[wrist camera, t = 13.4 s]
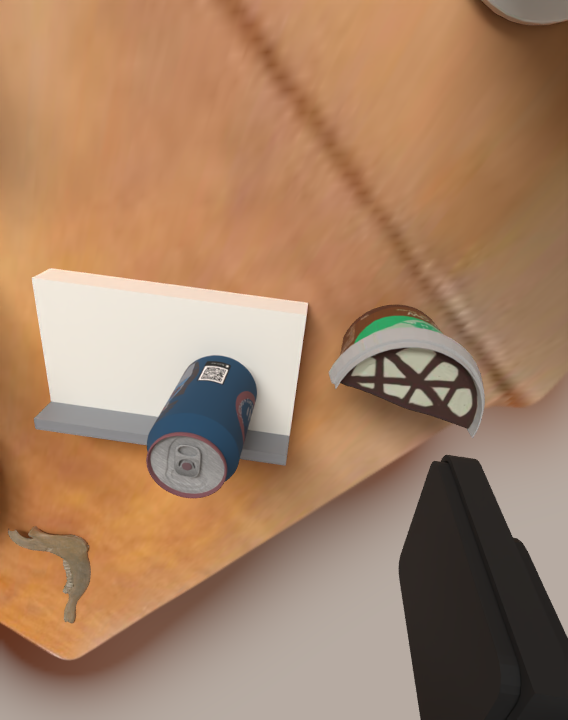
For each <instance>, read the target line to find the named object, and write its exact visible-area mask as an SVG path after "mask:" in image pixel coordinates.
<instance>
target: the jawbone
mask: <svg viewBox="0 0 568 720" xmlns="http://www.w3.org/2000/svg"><path fill="white" fill-rule="evenodd" d="M8 534H9V536H10V538H11V539H12V540H13V541H14V542H15V543H16V544H18V545H19V546H21V547H24V548H27V549H31V550H37V551H47V552H51V553H53V554H56V555H58V556H60V557H61V558H63V559H64V560H63V566H64V569H65V570H66V574H67V575H66V576H67V583H66V585H65V586H64V587H65V588H64V589H63V592H64V593H68V594H69V601H68V603H67V605H66V608H65V613H64V620H65V622H66V621H68V622H69V623H74V620H75V617H76V604H77V601H78V600H79V598H80V597H81V596H82V594H83V593H84V592H85V590H86V589H87V587H88V585H89V582H90V575H91V569H90V562H89V559H88V553H87V552H88V549H89V545H87V544H88V543H86V541H85V540H84V539H83V538H81V537H79V536H75V535H51V534H47V533H44V532H43V531H41V530H40V529H38V528H37V527H36V526H35V527H33V528H32V529H31V530H30V532H29V533H28V535H29V536H30V537H32V538H25V537H23V536H21V535H20V534H19V533H18V532H17V531H16V530H15V531H9V529H8Z"/></svg>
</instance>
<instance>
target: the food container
mask: <svg viewBox="0 0 568 720" xmlns="http://www.w3.org/2000/svg"><path fill="white" fill-rule="evenodd" d="M329 376H330V379H331V382H332V383H333V384H335V389H336V388H337V387H338V385H339V383H342V384H344V385H346V386H350V387H354V388H357V389H360V390H363V391H365V392H368V393H371V394H373V395H375V396H378V397H380V398H383V399H385V400H387V401H389V402H392V403H394V404H396V405H399V406H401V407H403V408H406V409H409V410H413V411H416V412H420V413H424V414H427V415H431V416H434V417H437V418H440V419H442V420H445V421H448V422H451V423H454V424H456V425H459V426H462V427H465V428H467V430H468V432H469V433H470V435H471V436H472V438H473V437H474V435H475V434H476V432H477V430H478V428H479V425H480V423H481V420H482V415H483V410H484V389H483V383H482V378H481V373H480V371H479V369H478V366H477V364H476V362H475V361H474V359H473V358H472V356H471V355H470V353H469V352H468V351H466V350H465V349H464V348H463V347H462V346H461V345H460V344H459V343H457V342H456V341H454V340H453V339H451V338H450V337H447V336H445V335H443V334H442V332H441V331H440V330H439V329H438V327H437V326H436V325H435V323H434V322H433V321H432V320H431V319H430V318H429V317H428V316H427V315H425V314H424V313H423V312H421V311H419V310H417V309H415V308H412V307H409V306H404V305H387V306H381V307H378V308H375V309H373V310H371V311H369V312H367V313H365V314H364V315H362V316H361V317H359V318H358V319H357V320H356V321H355V322H354V323H353V324H352V325H351V326H350V328H349V329H348V330H347V332H346V334H345V336H344V338H343V344H342V349H341V354H340V357H339V358H338V359H337V361H336V362H335V363H334V364H333V366H332V368H331V370H330V371H329Z"/></svg>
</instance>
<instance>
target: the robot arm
mask: <svg viewBox="0 0 568 720" xmlns="http://www.w3.org/2000/svg"><path fill="white" fill-rule="evenodd" d="M481 1H482V2H483V3H484V4H486V5H487V6H488V7H489V8H490V9H491V10H492V11H493V12H494V13H496V14H498V15H500V16H502V17H504V18H505V19H507V20H509V21H512V22H516V23H520V24H524V25H550V24H555V23H560V22H564V21H567V20H568V0H481ZM399 578H400V586H401V592H402V599H403V605H404V612H405V619H406V625H407V632H408V639H409V645H410V652H411V658H412V665H413V671H414V679H415V685H416V692H417V698H418V705H419V712H420V718H421V720H568V638H567V636H566V634H565V632H564V629H563V627H562V625H561V623H560V621H559V618H558V616H557V614H556V612H555V610H554V608H553V605H552V603H551V601H550V599H549V597H548V595H547V593H546V591H545V588H544V586H543V584H542V582H541V580H540V577H539V575H538V573H537V571H536V569H535V566H534V564H533V562H532V560H531V558H530V555H529V553H528V551H527V550H526V548H525V546H524V545H523V543H522V542H521V541H520V540H518V539H517V538H513V537H512V535H511V532H510V530H509V528H508V526H507V523H506V521H505V519H504V517H503V514H502V512H501V510H500V508H499V505H498V503H497V501H496V498H495V496H494V494H493V492H492V489H491V487H490V485H489V482H488V480H487V478H486V476H485V473H484V471H483V469H482V467H481V465H480V463H479V461H478V460H476V459H471V458H465V457H457V456H451V455H445V456H444V457H443V458H442V460H441V462H438V461H434V462H432V464H431V466H430V469H429V472H428V475H427V478H426V481H425V484H424V487H423V490H422V493H421V496H420V499H419V502H418V505H417V508H416V511H415V514H414V517H413V520H412V523H411V525H410V529H409V531H408V535H407V538H406V541H405V543H404V546H403V549H402V553H401V555H400V560H399Z"/></svg>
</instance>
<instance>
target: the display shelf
mask: <svg viewBox="0 0 568 720" xmlns="http://www.w3.org/2000/svg"><path fill="white" fill-rule="evenodd" d="M32 283H33V289H34V295H35V302H36V308H37V314H38V321H39V327H40V333H41V340H42V346H43V353H44V359H45V365H46V372H47V378H48V384H49V391H50V397H51V402H50V403H49V404H48V405H47V406H46V407H45V408H44V409H43V410H42V411H41V412H40V413H39V414H38V415H37V416H36V417H35V418H34V423H35V428H36V429H39V430H46V431H53V432H60V433H66V434H73V435H80V436H87V437H94V438H101V439H108V440H114V441H121V442H128V443H135V444H142V445H147V438H148V435H149V432H150V430H151V428H152V427H153V425H154V423H155V422H156V420H157V418H158V416H159V415H160V413H161V411H162V410H163V408H164V406H165V405H166V403H167V401H168V399H169V398H170V396H171V394H172V393H173V391H174V389H175V387H176V386H177V384H178V382H179V381H180V379H181V377H182V376H183V374H184V372H185V370H186V369H187V368H188V366H189V365H190V364H192V363H193V362H194V361H196V360H198V359H200V358H202V357H206V356H211V355H220V356H226V357H230V358H232V359H234V360H236V361H238V362H240V363H241V364H242V365H244V366H245V367H246V368H247V369H248V370H249V372H250V373H251V375H252V376H253V378H254V380H255V383H256V387H257V398H256V402H255V405H254V409H253V413H252V416H251V420H250V423H249V427H248V431H247V434H246V438H245V441H244V445H243V449H242V452H241V456H240V459H244V460H251V461H258V462H265V463H272V464H279V465H286V459H287V452H288V444H289V436H290V429H291V422H292V415H293V408H294V401H295V394H296V387H297V380H298V373H299V366H300V359H301V351H302V344H303V337H304V330H305V323H306V316H307V308H308V303H305V302H298V301H290V300H283V299H275V298H268V297H261V296H253V295H246V294H238V293H231V292H224V291H216V290H209V289H201V288H194V287H186V286H179V285H172V284H164V283H157V282H149V281H142V280H134V279H127V278H120V277H112V276H105V275H97V274H90V273H82V272H75V271H68V270H60V269H53V268H50V269H48V270H46V271H44V272H42V273H40V274H38V275H36V276H35V277H33V278H32Z"/></svg>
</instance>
